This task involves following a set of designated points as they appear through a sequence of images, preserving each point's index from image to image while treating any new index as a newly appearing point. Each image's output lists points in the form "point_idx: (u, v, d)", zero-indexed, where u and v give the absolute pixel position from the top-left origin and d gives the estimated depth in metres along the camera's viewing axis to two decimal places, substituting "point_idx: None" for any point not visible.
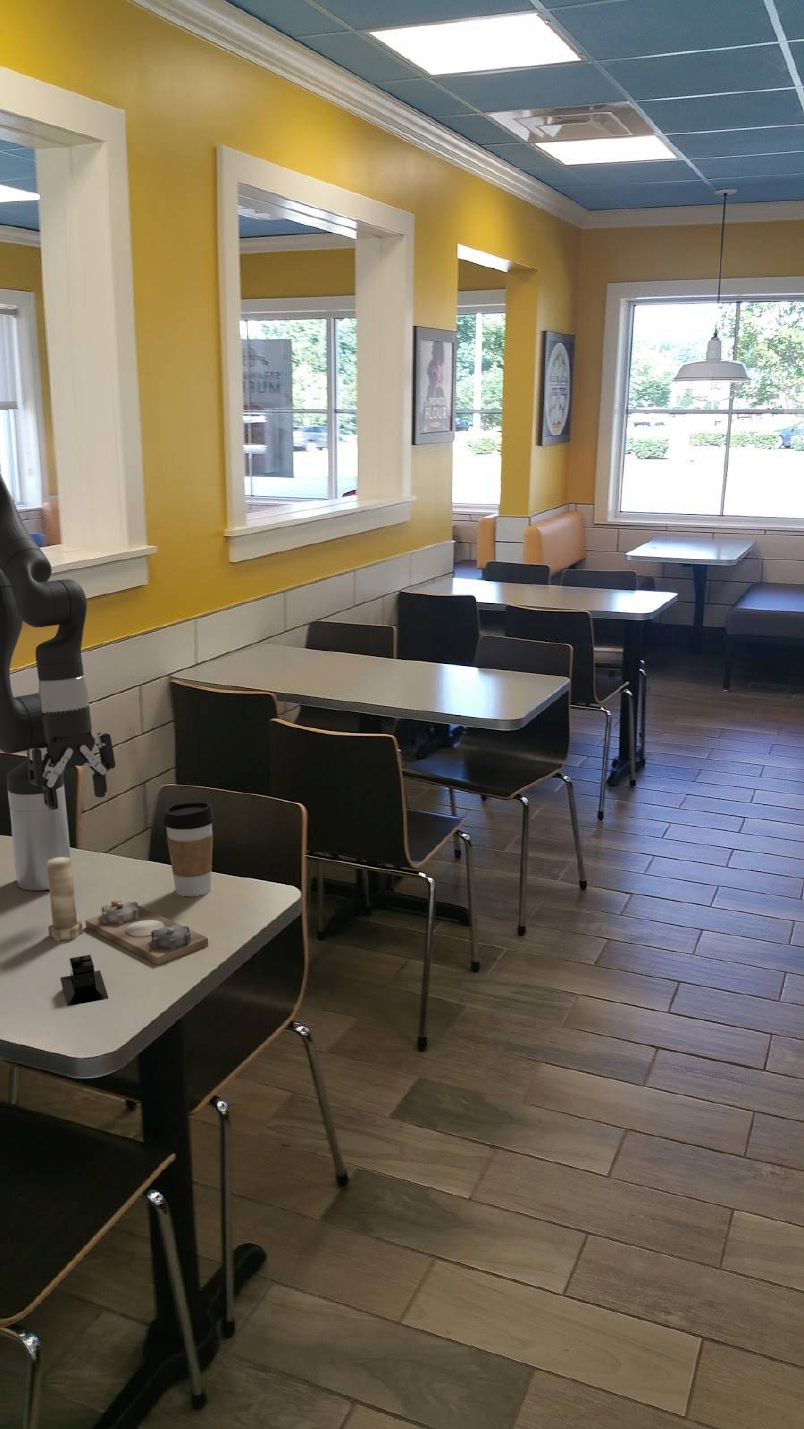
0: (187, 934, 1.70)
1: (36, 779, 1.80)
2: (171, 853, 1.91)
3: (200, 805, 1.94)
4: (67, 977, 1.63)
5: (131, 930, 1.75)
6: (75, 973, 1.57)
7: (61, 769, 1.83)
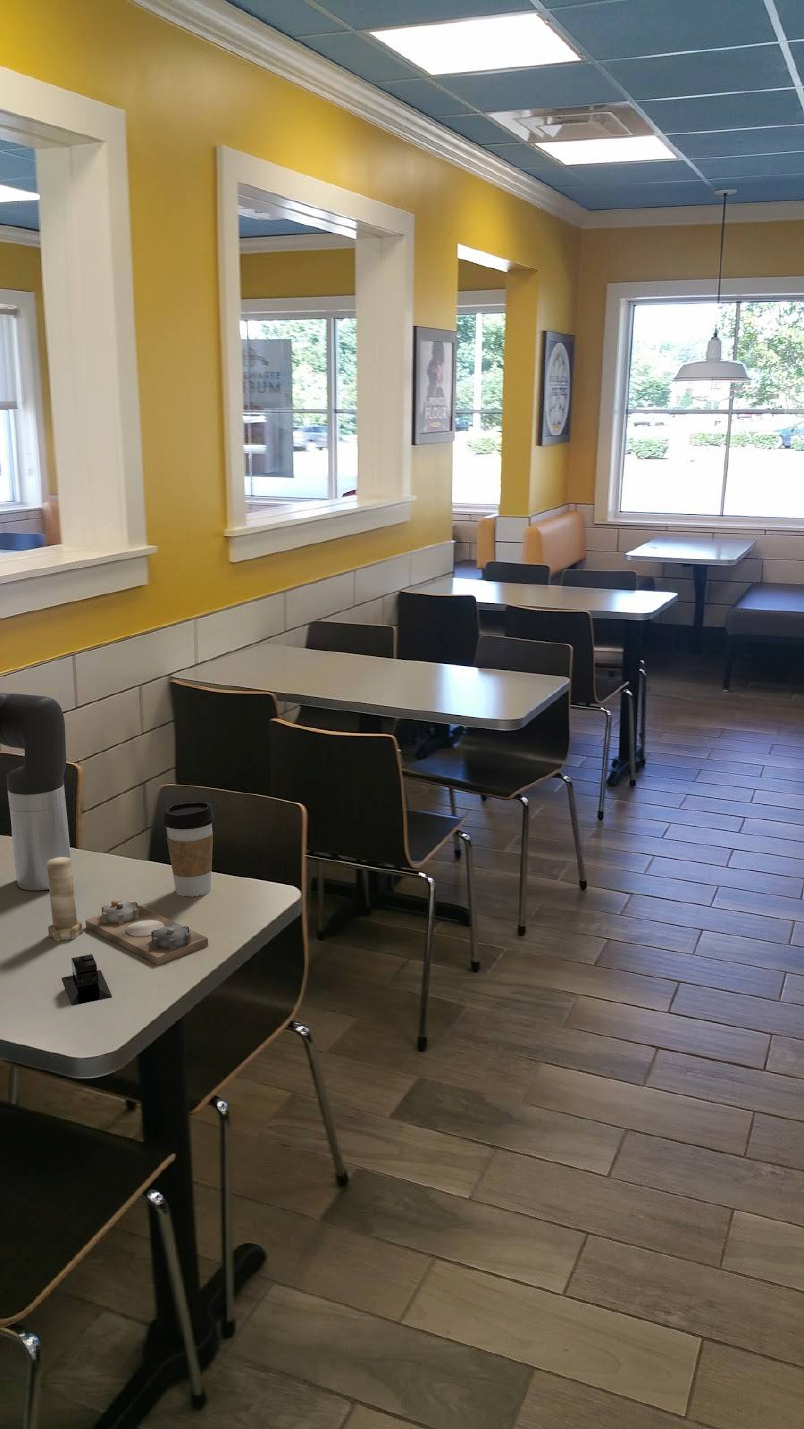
0: (187, 934, 1.70)
1: None
2: (171, 853, 1.91)
3: (200, 805, 1.94)
4: (68, 977, 1.63)
5: (131, 930, 1.75)
6: (78, 972, 1.57)
7: None
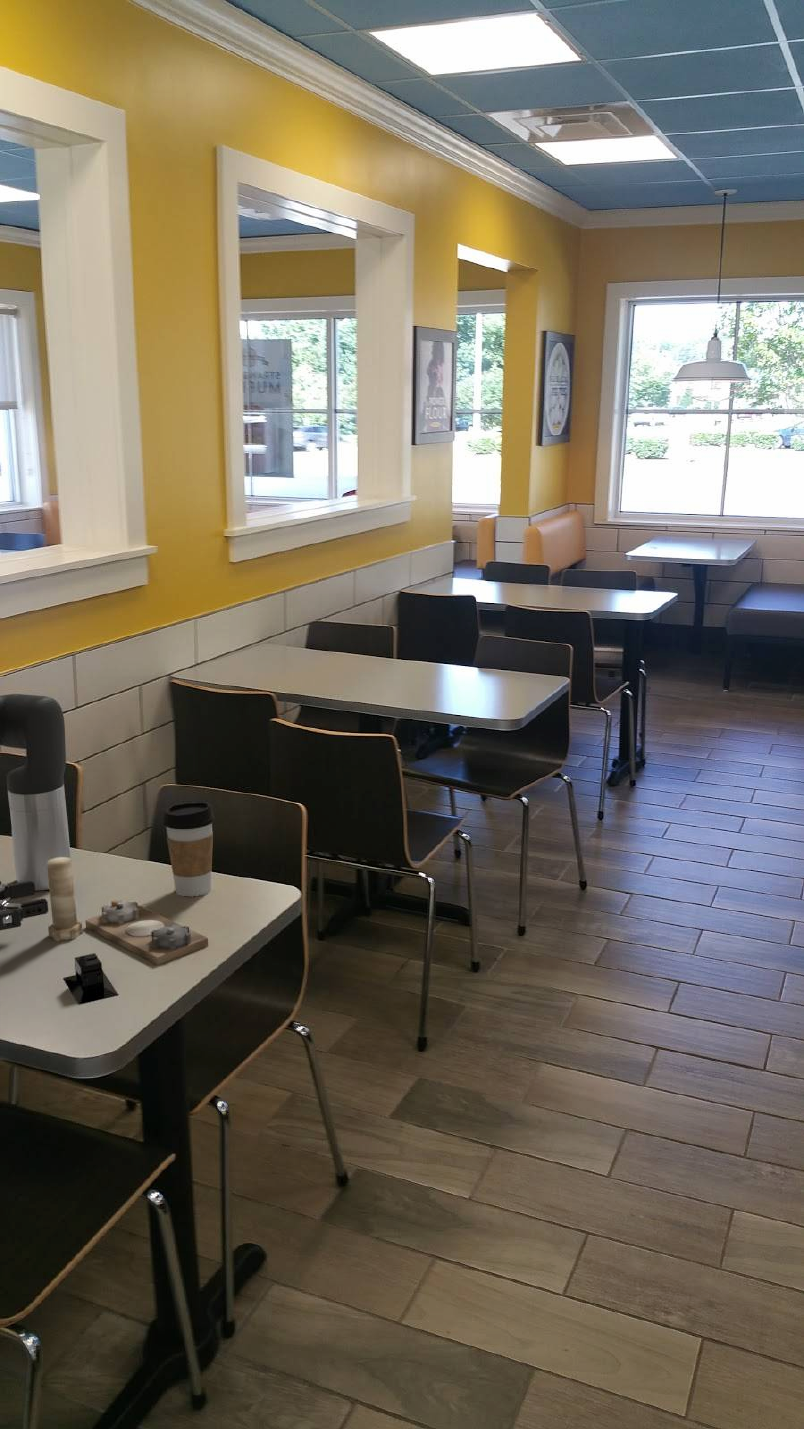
0: (187, 934, 1.70)
1: None
2: (171, 853, 1.91)
3: (200, 805, 1.94)
4: (70, 977, 1.63)
5: (131, 930, 1.75)
6: (84, 971, 1.58)
7: None
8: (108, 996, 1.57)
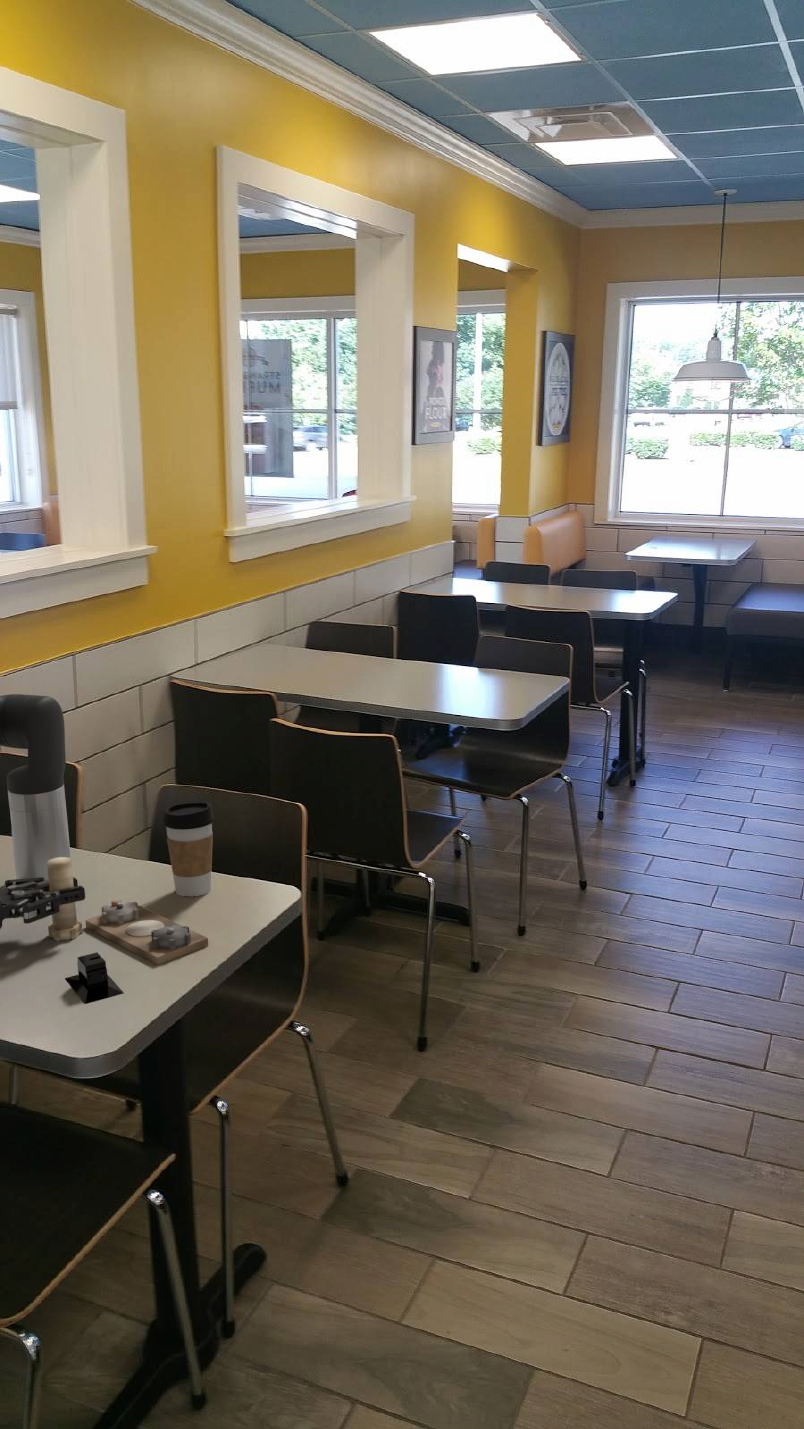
0: (187, 934, 1.70)
1: None
2: (171, 853, 1.91)
3: (200, 805, 1.94)
4: (72, 977, 1.63)
5: (131, 930, 1.75)
6: (88, 970, 1.58)
7: None
8: (113, 994, 1.58)
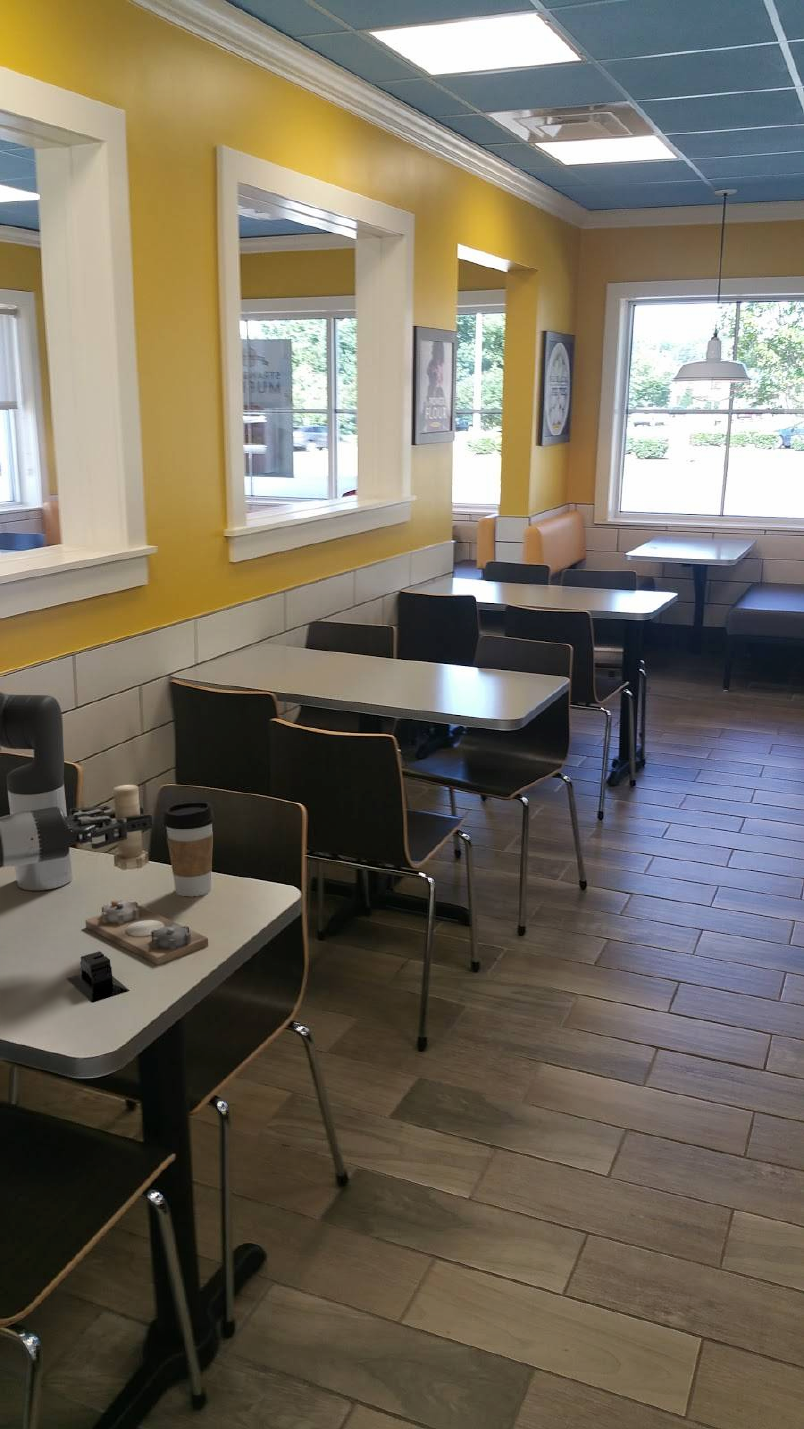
0: (187, 934, 1.70)
1: None
2: (171, 853, 1.91)
3: (201, 805, 1.94)
4: (74, 977, 1.63)
5: (131, 930, 1.75)
6: (93, 969, 1.58)
7: None
8: (119, 992, 1.58)
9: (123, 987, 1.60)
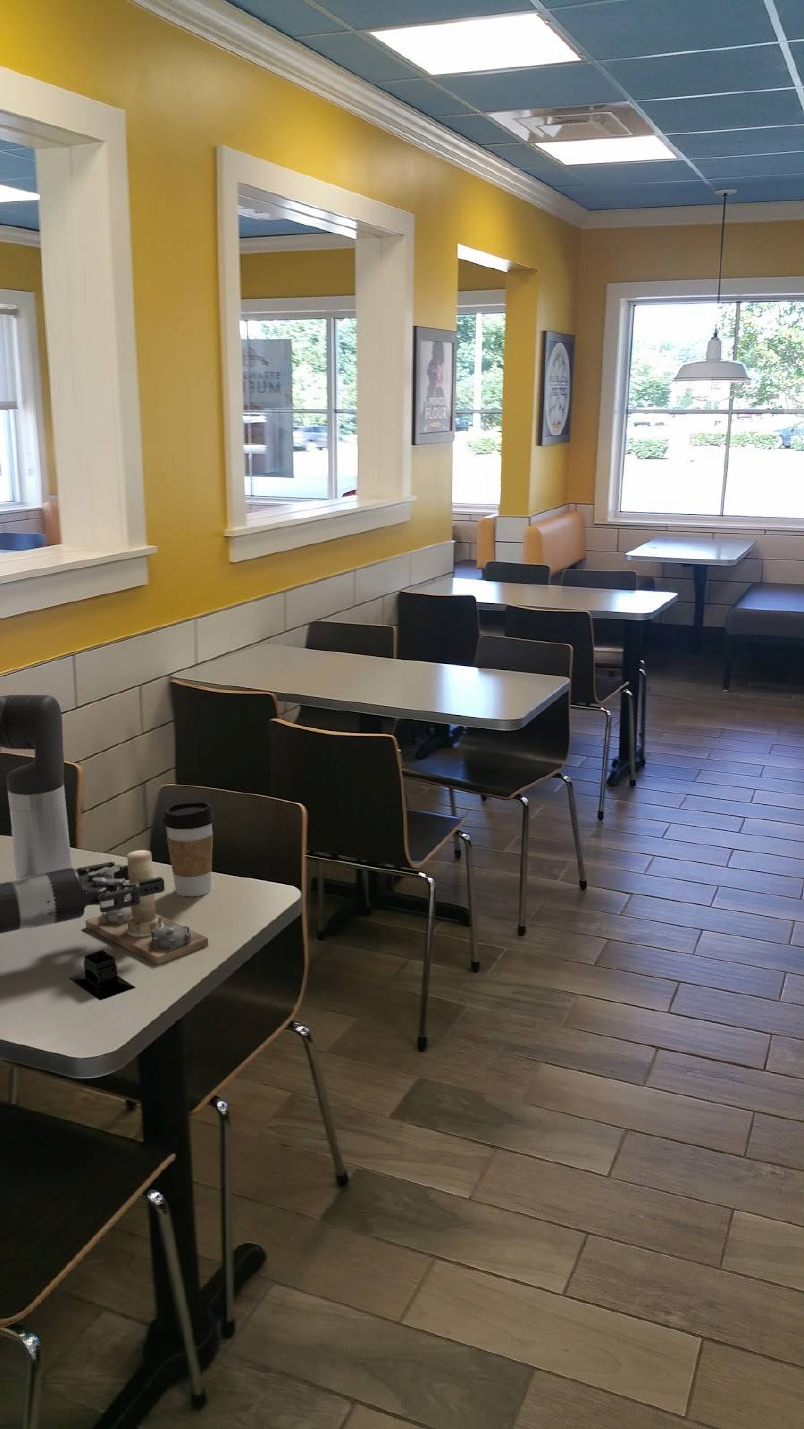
0: (187, 934, 1.70)
1: None
2: (171, 853, 1.91)
3: (200, 805, 1.94)
4: (76, 977, 1.63)
5: None
6: (99, 968, 1.59)
7: None
8: (126, 989, 1.59)
9: (129, 984, 1.60)
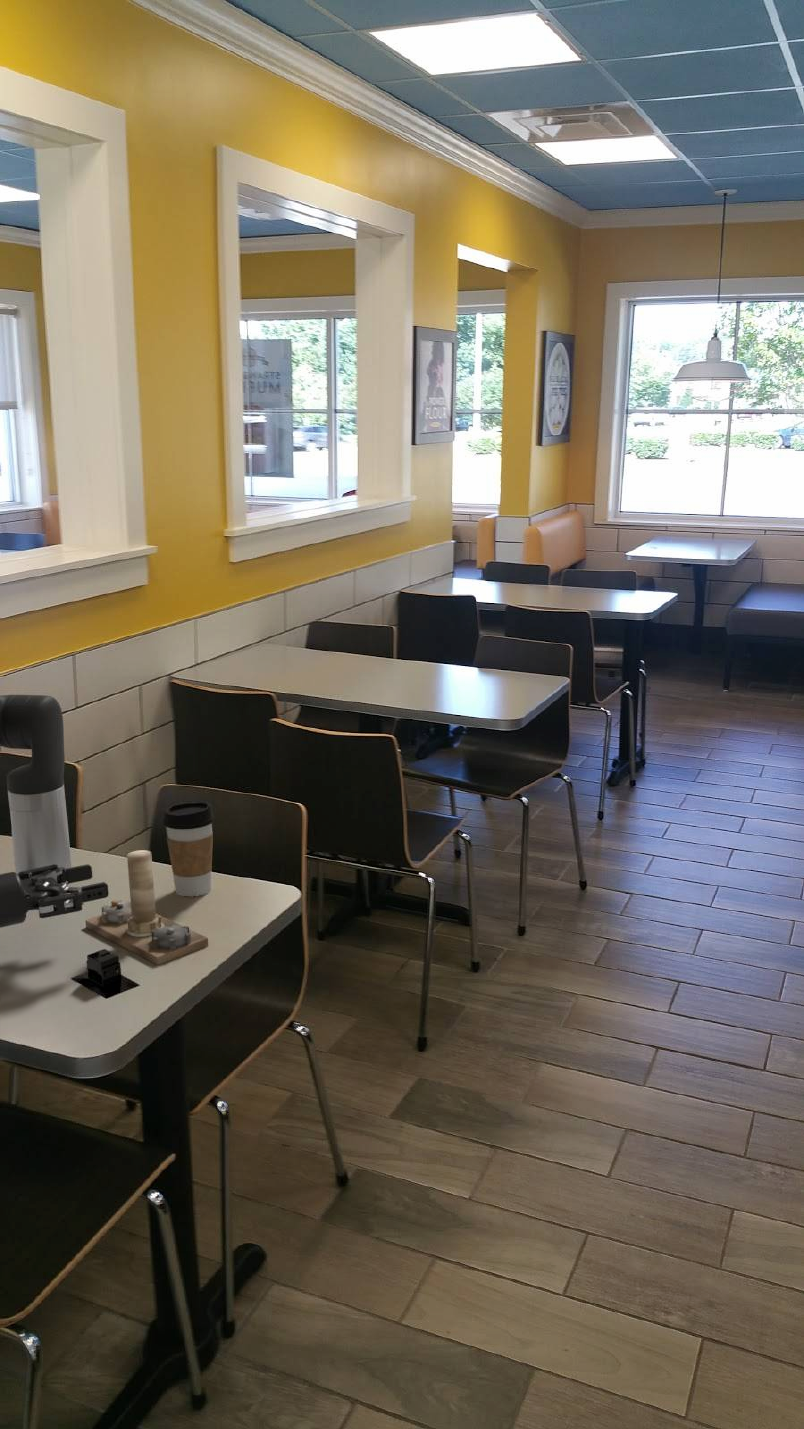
0: (187, 934, 1.70)
1: None
2: (171, 853, 1.91)
3: (200, 805, 1.94)
4: (78, 976, 1.63)
5: None
6: (103, 966, 1.59)
7: None
8: (131, 987, 1.60)
9: (133, 982, 1.61)
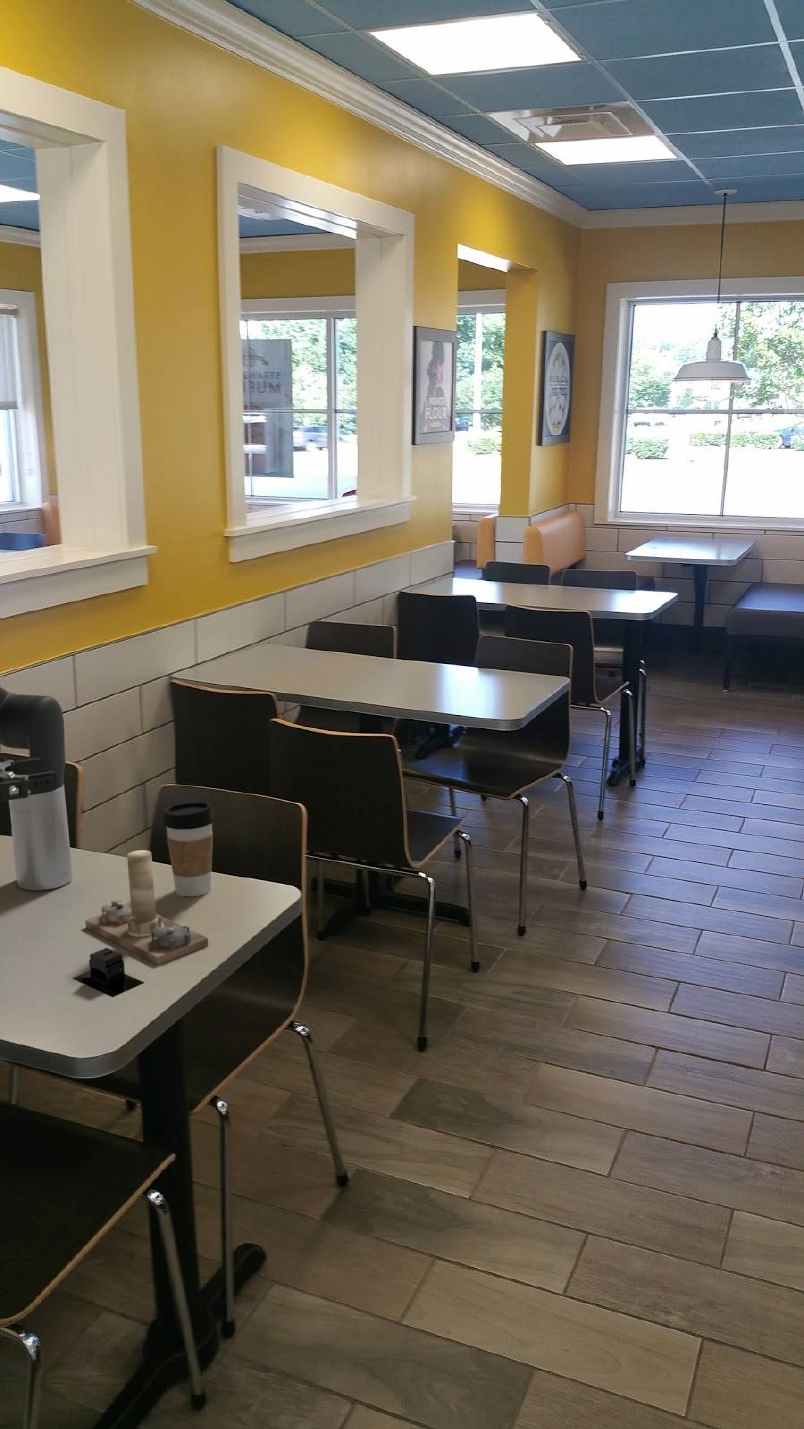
0: (187, 934, 1.70)
1: None
2: (171, 853, 1.91)
3: (200, 805, 1.94)
4: (80, 976, 1.63)
5: None
6: (108, 965, 1.60)
7: None
8: (135, 985, 1.60)
9: (136, 980, 1.62)
